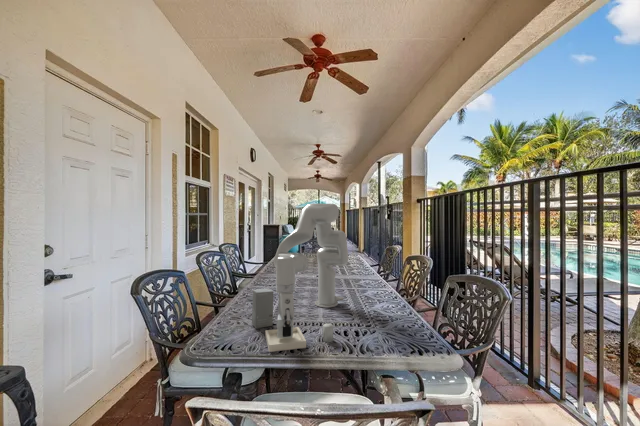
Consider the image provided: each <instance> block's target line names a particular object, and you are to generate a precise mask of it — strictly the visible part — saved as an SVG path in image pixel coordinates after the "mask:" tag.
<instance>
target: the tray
mask: <svg viewBox="0 0 640 426" xmlns="http://www.w3.org/2000/svg"><path fill="white" fill-rule="evenodd" d="M264 336H265V340H266V345H267V348H268V353H269V352H270V353H271V352H272V353H273V352H280V351H281V352H282V351H289V350H297V349H305V348H307V340H306V338H305V336H304V334H303V332H302V331H301V329H300V327H299V326H296V327H294V326H293V337H292V338H277V328H276V329H266V330H265V335H264Z"/></svg>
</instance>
